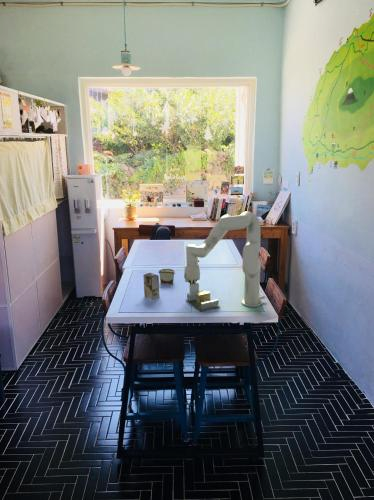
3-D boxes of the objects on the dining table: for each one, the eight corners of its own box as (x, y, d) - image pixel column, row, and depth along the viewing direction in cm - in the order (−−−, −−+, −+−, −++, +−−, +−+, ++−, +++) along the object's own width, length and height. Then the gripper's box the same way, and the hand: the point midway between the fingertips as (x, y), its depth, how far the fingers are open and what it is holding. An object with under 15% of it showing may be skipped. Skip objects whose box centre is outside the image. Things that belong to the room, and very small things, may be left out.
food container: (177, 281, 309) (176, 269, 306) (174, 284, 303) (174, 271, 301) (161, 280, 312) (161, 268, 310) (158, 283, 307) (158, 270, 304)
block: (207, 300, 270) (207, 290, 268) (210, 302, 267) (210, 292, 265) (196, 303, 266) (196, 293, 265) (199, 305, 263) (199, 295, 261)
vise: (204, 296, 279) (204, 290, 278) (219, 307, 262) (219, 299, 261) (185, 300, 273) (185, 293, 272) (200, 311, 256) (200, 304, 255)
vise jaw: (201, 294, 280) (201, 282, 278) (205, 297, 275) (205, 284, 273) (185, 298, 275) (185, 285, 272) (190, 301, 270) (189, 288, 267)
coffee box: (159, 297, 279) (159, 275, 275) (152, 300, 275) (151, 277, 270) (151, 294, 285) (150, 272, 281) (143, 297, 281) (142, 274, 277)
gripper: (199, 259, 279) (199, 285, 284) (179, 263, 273) (180, 289, 277) (204, 262, 273) (204, 288, 278) (184, 266, 266) (185, 292, 271)
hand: (192, 288), depth 278 cm, fingers closed
